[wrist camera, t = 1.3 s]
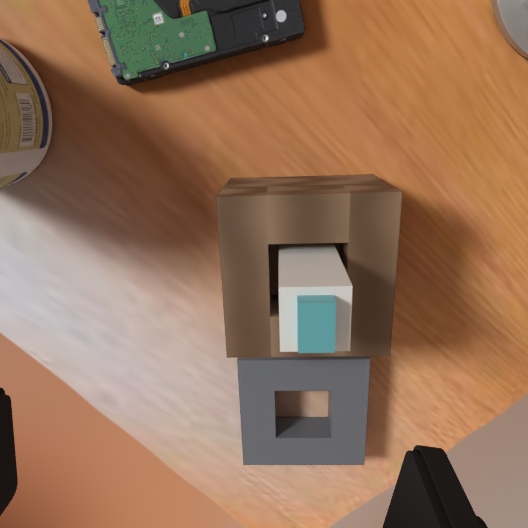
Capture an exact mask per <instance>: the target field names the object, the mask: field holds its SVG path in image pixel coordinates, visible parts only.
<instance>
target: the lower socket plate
mask: <svg viewBox="0 0 528 528" xmlns="http://www.w3.org/2000/svg"><path fill="white" fill-rule="evenodd" d="M237 364H238V381H239V397H240V414H241V430H242V447H243V464H244V465H364V461H365V444H366V427H367V409H368V392H369V375H370V357H369V356H324V357H238V359H237ZM275 391H329V396H328V417H276V402H275Z"/></svg>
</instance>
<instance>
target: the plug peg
mask: <svg viewBox="0 0 528 528" xmlns="http://www.w3.org/2000/svg"><path fill="white" fill-rule="evenodd" d="M352 288H353V286H352V284H351V281H350V279H349V277H348V275H347V272H346V270H345V268H344V266H343V263H342V261H341V259H340V257H339V254H338V252H337V250H336V248H335V245H334V243H305V244H279V332H280V352H298V353H335V351H350V339H351V314H352Z"/></svg>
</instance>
